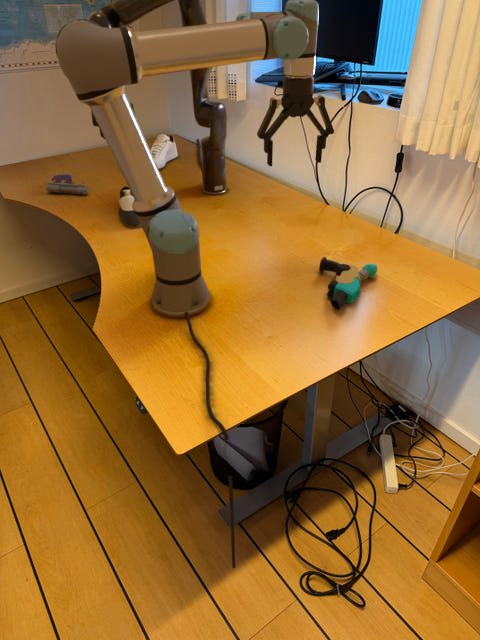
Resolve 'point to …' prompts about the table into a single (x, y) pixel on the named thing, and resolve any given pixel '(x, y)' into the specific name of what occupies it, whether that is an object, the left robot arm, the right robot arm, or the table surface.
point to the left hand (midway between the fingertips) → (294, 163)
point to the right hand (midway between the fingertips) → (116, 137)
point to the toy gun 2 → (345, 281)
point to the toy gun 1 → (65, 185)
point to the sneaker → (164, 150)
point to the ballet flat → (127, 208)
